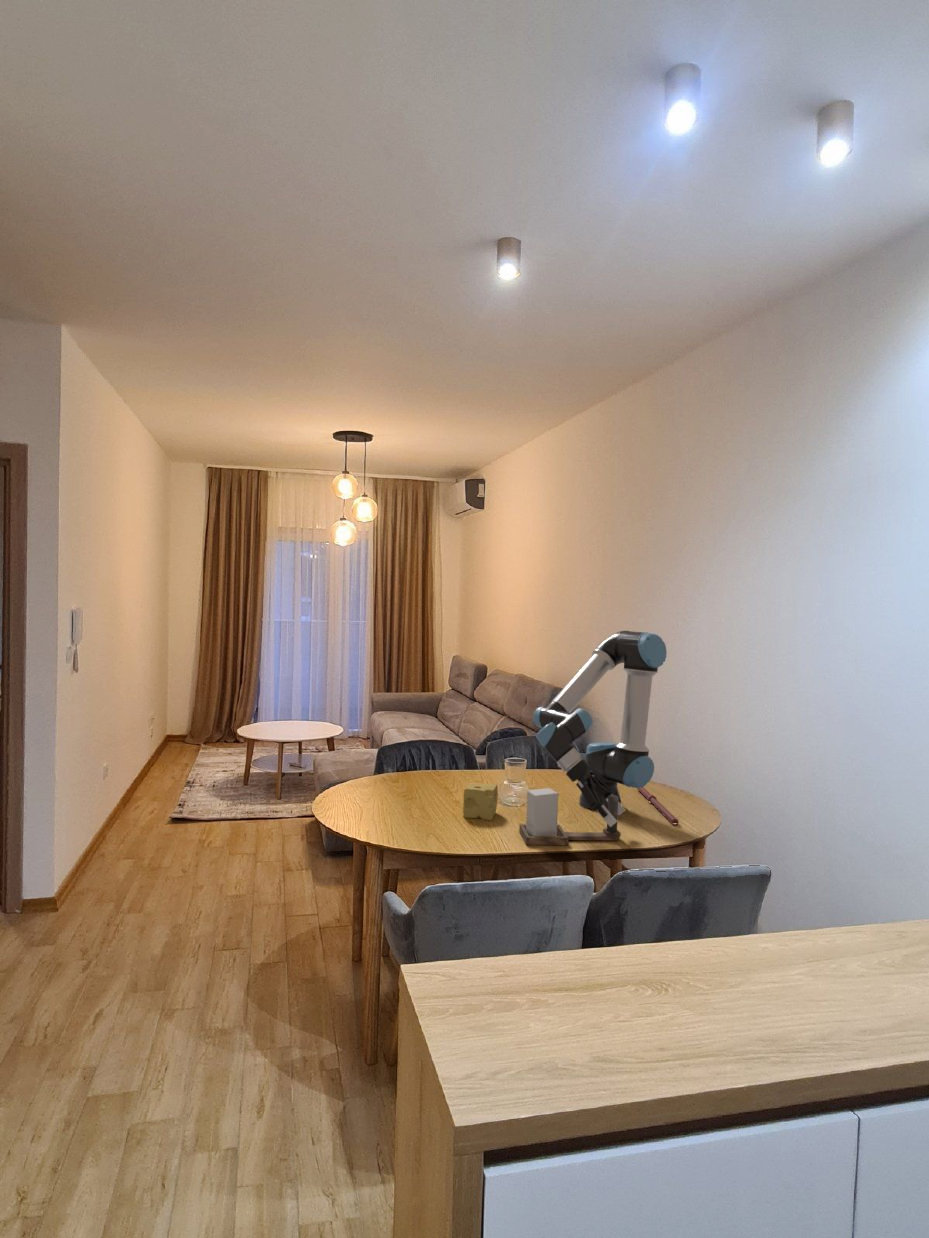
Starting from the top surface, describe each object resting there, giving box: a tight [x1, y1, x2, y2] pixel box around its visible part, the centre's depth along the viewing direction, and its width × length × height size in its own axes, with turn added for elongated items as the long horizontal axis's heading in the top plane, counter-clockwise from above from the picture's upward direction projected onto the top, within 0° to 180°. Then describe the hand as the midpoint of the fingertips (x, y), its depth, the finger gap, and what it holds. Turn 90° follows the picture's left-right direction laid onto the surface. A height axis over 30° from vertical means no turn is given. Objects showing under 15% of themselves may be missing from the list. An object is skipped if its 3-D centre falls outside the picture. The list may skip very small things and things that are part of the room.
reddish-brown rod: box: [636, 786, 679, 824], centre depth 284 cm, size 45×3×3 cm, turn 3°
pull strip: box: [518, 795, 622, 846], centre depth 244 cm, size 31×13×13 cm, turn 95°
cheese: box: [462, 782, 499, 821], centre depth 266 cm, size 10×11×10 cm
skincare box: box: [525, 787, 559, 837], centre depth 241 cm, size 8×7×16 cm
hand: (618, 818), depth 244 cm, fingers open, 13 cm apart
